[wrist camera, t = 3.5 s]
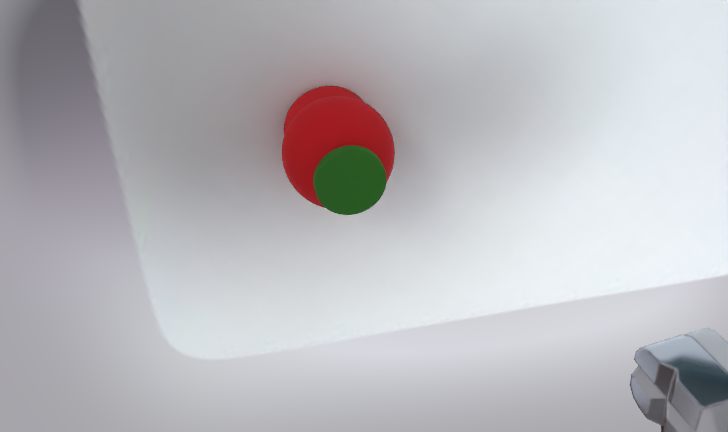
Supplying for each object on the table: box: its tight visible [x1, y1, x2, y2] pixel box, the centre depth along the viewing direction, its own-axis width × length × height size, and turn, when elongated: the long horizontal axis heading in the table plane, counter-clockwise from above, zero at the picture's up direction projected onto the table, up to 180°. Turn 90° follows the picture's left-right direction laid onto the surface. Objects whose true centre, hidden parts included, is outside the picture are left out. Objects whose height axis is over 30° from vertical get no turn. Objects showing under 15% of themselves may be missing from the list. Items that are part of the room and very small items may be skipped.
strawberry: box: [282, 86, 395, 215], centre depth 21 cm, size 4×4×5 cm
